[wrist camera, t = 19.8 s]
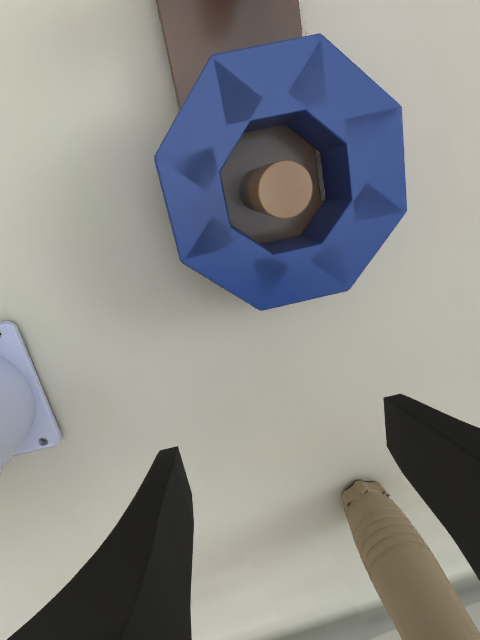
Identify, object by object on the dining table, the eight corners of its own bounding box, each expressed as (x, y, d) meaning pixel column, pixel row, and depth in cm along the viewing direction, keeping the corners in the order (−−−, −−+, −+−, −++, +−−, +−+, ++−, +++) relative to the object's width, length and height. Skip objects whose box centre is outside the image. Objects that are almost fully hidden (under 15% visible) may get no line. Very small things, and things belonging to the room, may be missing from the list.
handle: (359, 449, 27) (550, 742, 12) (411, 496, 28) (629, 796, 14) (307, 493, 27) (434, 819, 13) (362, 536, 29) (524, 860, 15)
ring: (195, 305, 20) (196, 326, 17) (142, 92, 17) (131, 70, 14) (376, 263, 21) (410, 276, 18) (359, 49, 17) (397, 17, 14)
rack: (210, 257, 21) (220, 288, 15) (135, -94, 16) (98, -290, 10) (316, 235, 21) (372, 255, 15) (274, -116, 16) (331, -320, 10)
